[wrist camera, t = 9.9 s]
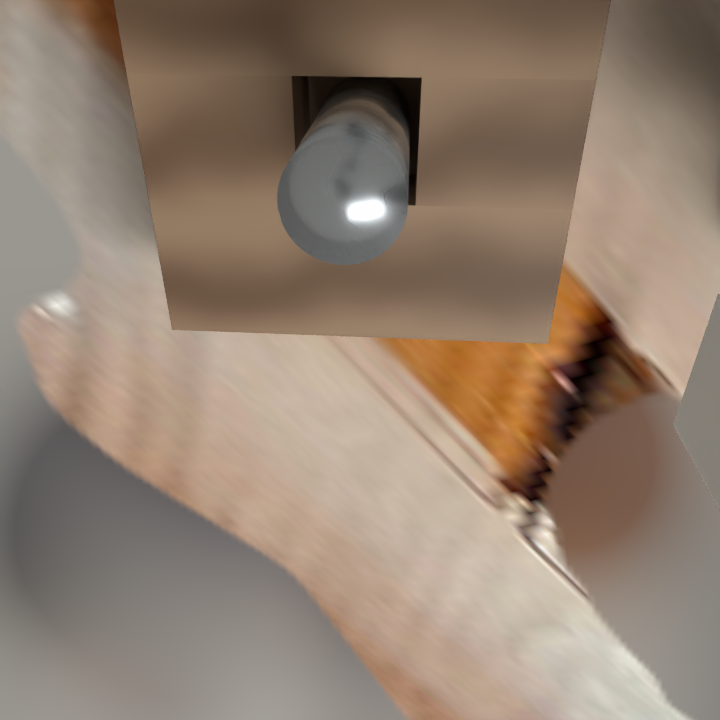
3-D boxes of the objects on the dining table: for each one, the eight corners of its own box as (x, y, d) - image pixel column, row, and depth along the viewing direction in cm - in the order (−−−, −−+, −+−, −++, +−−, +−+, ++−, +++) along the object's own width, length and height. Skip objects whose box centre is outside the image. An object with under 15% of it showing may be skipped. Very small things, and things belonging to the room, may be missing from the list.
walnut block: (150, -119, 27) (89, -136, 22) (592, -122, 26) (636, -140, 21) (205, 277, 36) (172, 329, 31) (528, 287, 35) (547, 343, 30)
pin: (322, 72, 29) (272, 134, 19) (412, 73, 29) (411, 137, 18) (325, 162, 31) (280, 263, 21) (408, 164, 31) (405, 266, 21)
